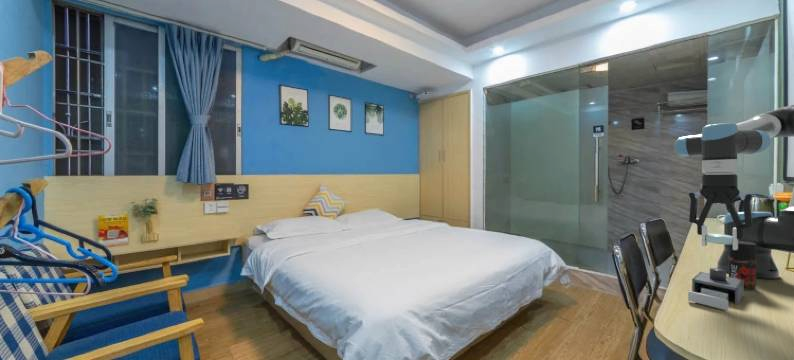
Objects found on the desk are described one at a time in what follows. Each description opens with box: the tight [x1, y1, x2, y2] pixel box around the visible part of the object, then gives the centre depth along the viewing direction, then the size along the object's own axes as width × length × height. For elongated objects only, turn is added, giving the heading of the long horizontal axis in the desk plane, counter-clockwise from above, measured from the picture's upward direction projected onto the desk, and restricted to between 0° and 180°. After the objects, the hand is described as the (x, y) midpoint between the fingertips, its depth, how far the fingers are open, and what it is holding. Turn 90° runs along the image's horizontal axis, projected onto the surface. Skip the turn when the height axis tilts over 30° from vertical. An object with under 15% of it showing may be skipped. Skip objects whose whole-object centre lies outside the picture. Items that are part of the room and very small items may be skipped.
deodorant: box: [728, 241, 757, 292], centre depth 99 cm, size 6×6×15 cm
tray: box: [687, 287, 730, 311], centre depth 89 cm, size 11×8×3 cm
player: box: [691, 267, 745, 305], centre depth 94 cm, size 11×10×8 cm
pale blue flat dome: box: [706, 233, 733, 245], centre depth 94 cm, size 6×6×2 cm
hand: (719, 247), depth 94 cm, fingers closed on pale blue flat dome, 6 cm apart
